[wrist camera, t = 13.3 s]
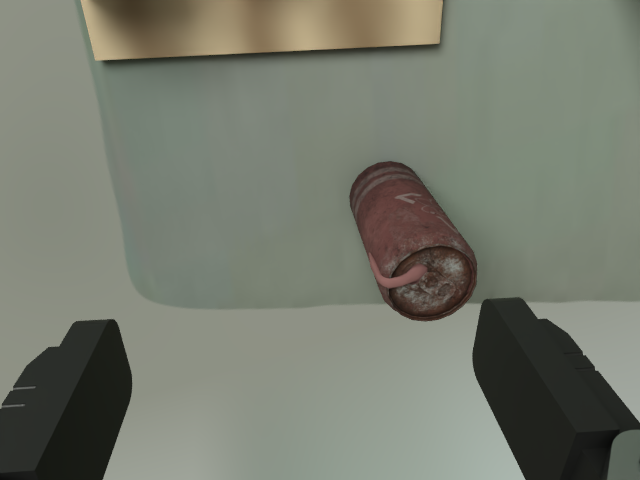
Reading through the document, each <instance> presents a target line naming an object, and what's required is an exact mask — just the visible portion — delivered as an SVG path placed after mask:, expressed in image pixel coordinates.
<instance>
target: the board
mask: <svg viewBox="0 0 640 480" xmlns="http://www.w3.org/2000/svg"><path fill="white" fill-rule="evenodd" d="M81 4H82V8H83V12H84V16H85V20H86V24H87V28H88V32H89V36H90V40H91V44H92V48H93V52H94V56H95V60H117V59H137V58H158V57H178V56H198V55H219V54H239V53H260V52H280V51H300V50H321V49H341V48H362V47H382V46H402V45H423V44H439V42H440V30H441V17H442V5H443V0H81Z"/></svg>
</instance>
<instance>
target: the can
mask: <svg viewBox="0 0 640 480" xmlns="http://www.w3.org/2000/svg"><path fill="white" fill-rule="evenodd" d="M350 207H351V209H352V212H353V215H354V218H355V221H356V224H357V227H358V230H359V233H360V235H361V238H362V241H363V244H364V247H365V250H366V253H367V256H368V258H369V261H370V266H371V269H372V271H373V273H374V276H375V279H376V281H377V284H378V287H379V290H380V292H381V294H382V297H383V299H384V301H385V302H386V303H387V304H388V305H389V306H390V307H391V308H392V309H393V310H395V311H397V312H398V313H400V314H401V315H402V316H404V317H407V318H409V319H411V320H417V321H432V320H439V319H441V318H444V317H446V316H449V315H451V314H453V313H454V312H456V311H457V310H459V309H460V308H461V307H462V306H464V304H465V303H466V302H467V301H468V300H469V298H470V297H471V296H472V293H473V291H474V289H475V287H476V281H477V261H476V258H475V255H474V252H473V250H472V249H471V248H470V246H469V245H468V244H467V242H466V241H465V240H464V238H463V237H462V236H461V234H460V233H459V232H458V230H457V229H456V227H455V226H454V225H453V223H452V222H451V221H450V219H449V218H448V217H447V215H446V214H445V213H444V211H443V210H442V209H441V207H440V206H439V205H438V203H437V202H436V200H435V199H434V198H433V196H432V195H431V194H430V192H429V191H428V190H427V188H426V187H425V186H424V184H423V183H422V182H421V180H420V179H419V177H418V176H417V175H416V174H415V173H414V172H413V170H412V169H411V168H409V167H407V166H405V165H404V164H402V163H397V162H392V161H389V162H381V163H377V164H375V165H372V166H370V167H368V168H367V169H365V170H364V171H363V172H362V173H361V174H360V175H358V177H357V179H356V180H355V182H354V183H353V185H352V188H351V192H350Z"/></svg>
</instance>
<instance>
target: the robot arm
mask: <svg viewBox="0 0 640 480" xmlns="http://www.w3.org/2000/svg"><path fill="white" fill-rule="evenodd" d="M473 368H474V372H475V376H476V378H477V381H478V383H479V385H480V387H481V389H482V391H483V393H484V395H485V397H486V399H487V401H488V404H489V406H490V407H491V410H492V412H493V414H494V416H495V418H496V420H497V422H498V424H499V426H500V428H501V430H502V432H503V434H504V436H505V438H506V440H507V443H508V445H509V447H510V449H511V451H512V453H513V455H514V457H515V459H516V461H517V463H518V465H519V467H520V469H521V471H522V473H523V475H524V477H525V479H526V480H640V423H639V421H638V420H637V419H636V418H635V416H634V415H633V414H632V413H631V411H630V410H629V409H628V408H627V407H626V405H625V404H624V403H623V402H622V400H621V399H620V398H619V396H618V395H617V394H616V393H615V391H614V390H613V389H612V388H611V386H610V385H609V384H608V383H607V381H606V380H605V379H604V378H603V376H601V374H600V373H599V372H598V371H595V367H594V365H593V364H592V363H591V362H590V360H589V359H588V358H587V357H586V355H585V356H583V352H582V350H581V349H580V348H579V347H578V345H577V344H576V343H575V342H574V340H573V339H572V338H571V337H570V336H569V334H568V333H566V332H565V331H564V330H562V329H561V328H559V327H558V326H556V325H555V324H553V323H552V322H551V321H549V320H548V319H537V317H536V316H535V314H534V313H533V312H532V310H531V309H530V308H529V307H528V305H527V304H526V302H525V301H524V300H523V299H522V298H519V297H515V298H497V299H486V300H484V301H483V303H482V305H481V310H480V315H479V320H478V326H477V331H476V337H475V342H474V347H473ZM131 393H132V374H131V370H130V366H129V362H128V359H127V355H126V352H125V348H124V345H123V341H122V337H121V334H120V330H119V327H118V324H117V322H116V321H115V320H113V319H107V320H89V321H76V322H75V323H73V324H72V326H71V328H70V329H69V331H68V333H67V334H66V336H65V338H64V339H63V341H62V343H61V344H60V346H59V347H48V348H47V349H46V350H45V351H43V352H42V353H41V354H40V355H39V356H38V357H37V358H36V359H34V360H33V361H32V362H30V363H29V364H28V365H27V366H26V368H25V369H24V371H23V372H22V374H21V375H20V377H19V379H18V380H17V382H16V383H15V385H14V386H13V391H10V392H9V394H8V396H7V397H6V399H5V400H4V402H3V403H2V408H1V409H0V480H102V479H103V477H104V474H105V471H106V468H107V465H108V462H109V459H110V457H111V454H112V450H113V448H114V445H115V442H116V439H117V437H118V434H119V431H120V428H121V425H122V422H123V419H124V417H125V414H126V410H127V408H128V405H129V402H130V398H131Z"/></svg>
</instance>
